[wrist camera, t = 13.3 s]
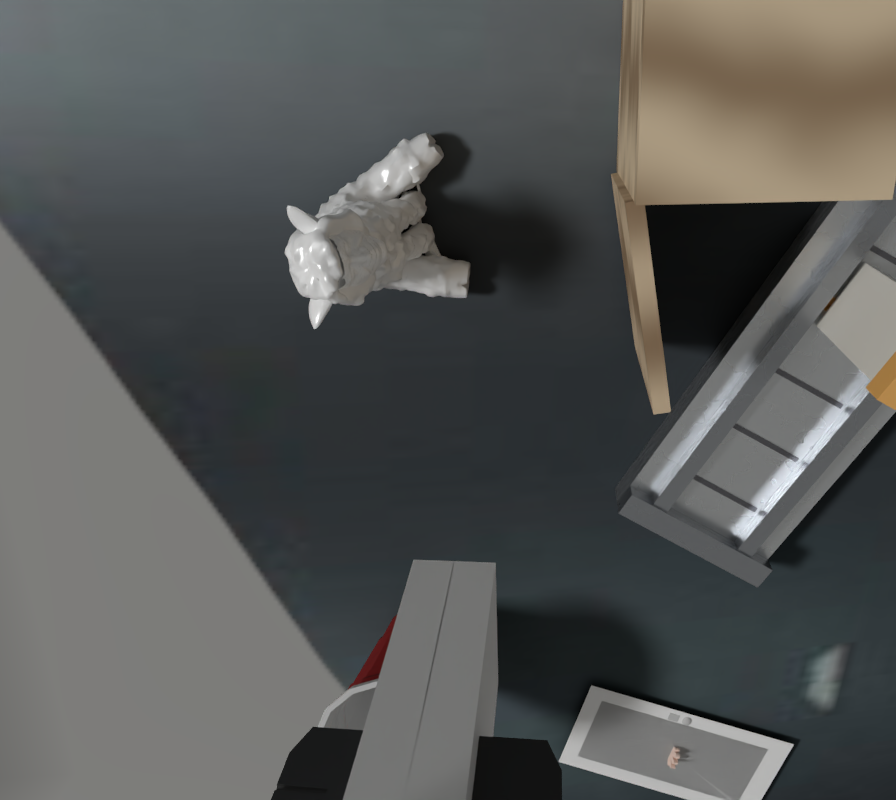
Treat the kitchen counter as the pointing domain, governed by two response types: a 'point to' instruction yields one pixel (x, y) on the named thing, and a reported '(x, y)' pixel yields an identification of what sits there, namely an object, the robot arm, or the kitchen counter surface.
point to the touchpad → (671, 749)
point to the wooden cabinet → (746, 120)
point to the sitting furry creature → (374, 237)
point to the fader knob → (867, 329)
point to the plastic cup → (358, 691)
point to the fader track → (768, 406)
